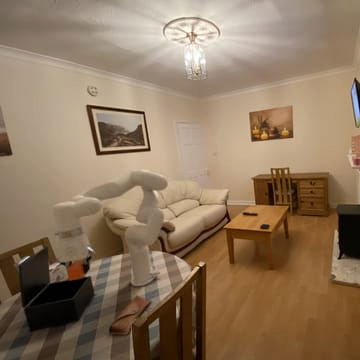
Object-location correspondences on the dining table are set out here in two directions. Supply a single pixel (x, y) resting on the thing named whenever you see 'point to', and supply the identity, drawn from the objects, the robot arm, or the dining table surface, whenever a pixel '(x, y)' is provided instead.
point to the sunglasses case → (129, 316)
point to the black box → (59, 303)
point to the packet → (76, 270)
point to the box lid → (33, 275)
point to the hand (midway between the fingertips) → (79, 272)
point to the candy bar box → (58, 272)
